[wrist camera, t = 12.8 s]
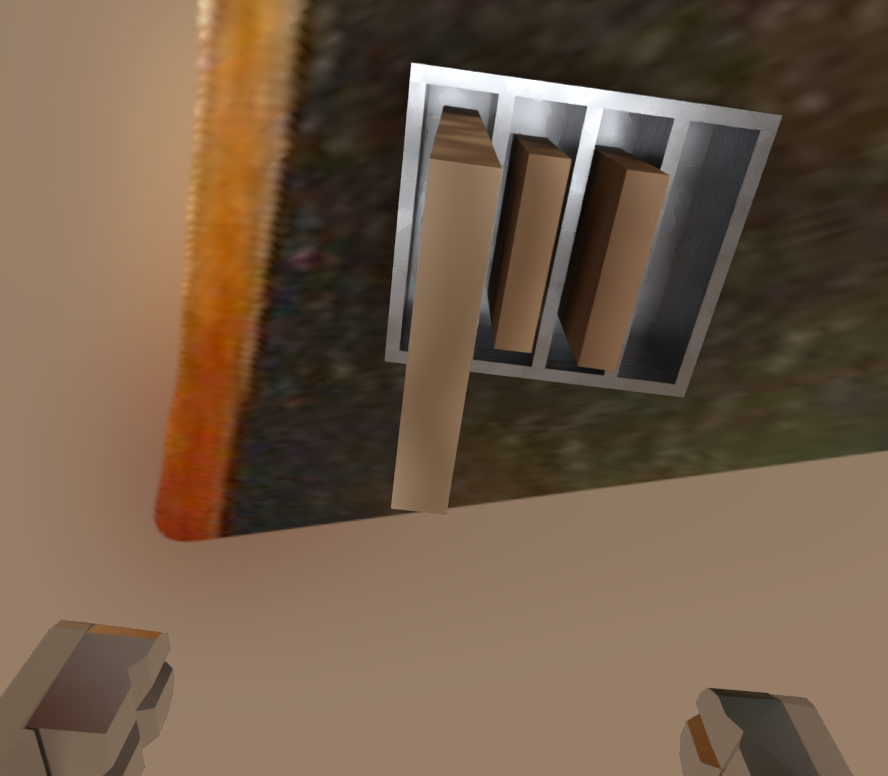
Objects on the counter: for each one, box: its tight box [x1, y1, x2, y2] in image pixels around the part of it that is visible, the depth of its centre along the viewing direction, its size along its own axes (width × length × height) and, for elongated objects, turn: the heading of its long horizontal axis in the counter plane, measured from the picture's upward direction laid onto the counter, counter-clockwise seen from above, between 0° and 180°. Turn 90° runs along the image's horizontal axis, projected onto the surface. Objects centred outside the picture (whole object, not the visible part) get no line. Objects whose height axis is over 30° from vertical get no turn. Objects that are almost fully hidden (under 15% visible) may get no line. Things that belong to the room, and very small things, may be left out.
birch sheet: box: [391, 105, 502, 514], centre depth 29 cm, size 2×12×22 cm, turn 173°
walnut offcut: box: [557, 145, 670, 371], centre depth 35 cm, size 2×10×10 cm, turn 173°
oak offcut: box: [487, 133, 572, 353], centre depth 35 cm, size 2×10×9 cm, turn 173°
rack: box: [385, 62, 782, 397], centre depth 37 cm, size 18×16×8 cm
